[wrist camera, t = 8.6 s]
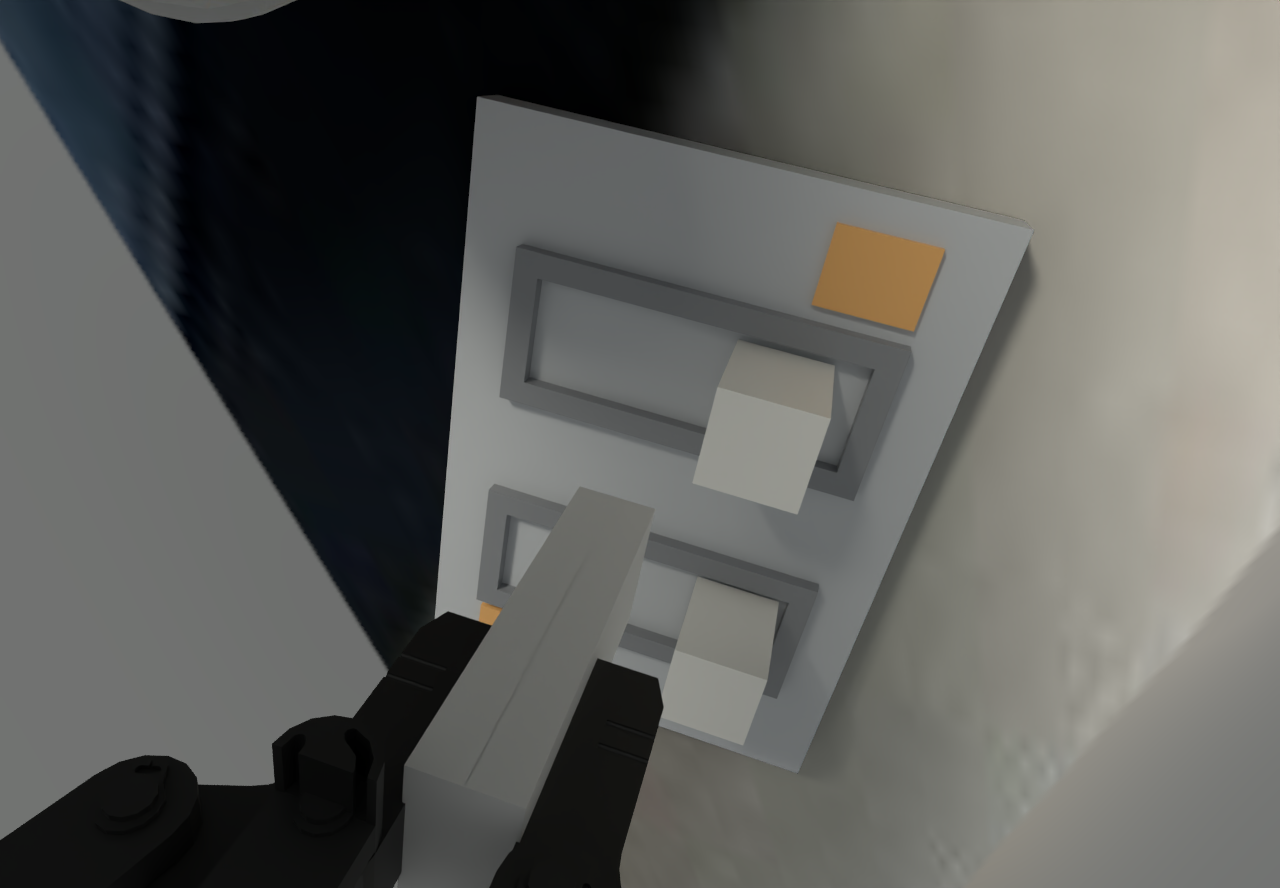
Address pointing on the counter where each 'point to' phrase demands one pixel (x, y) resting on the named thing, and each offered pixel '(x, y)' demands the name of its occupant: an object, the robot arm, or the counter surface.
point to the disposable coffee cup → (208, 9)
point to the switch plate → (701, 376)
